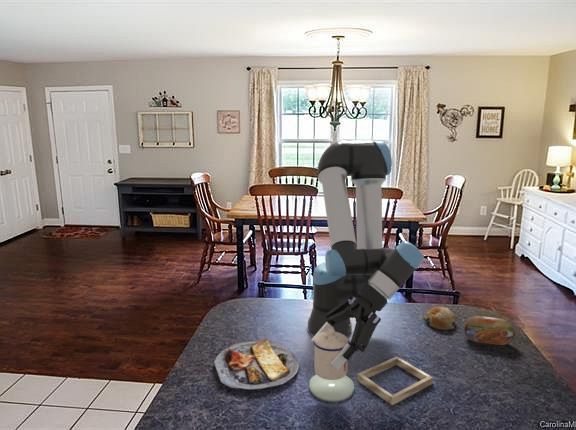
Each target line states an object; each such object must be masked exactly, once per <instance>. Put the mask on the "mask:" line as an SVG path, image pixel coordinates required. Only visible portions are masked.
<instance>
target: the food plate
mask: <svg viewBox="0 0 576 430" xmlns="http://www.w3.org/2000/svg"><path fill="white" fill-rule="evenodd" d="M213 363H214V366H215V369H216V373H217V374H218V377H219V382H221V383H222V384H223V385H225V386H227V387H228V388H232V389H243V390H261V389H267V388H273V387H276V386H279V385H283V384H285V383H288V381H290V380H291V379H292V378H293V377H295V375H296V374H297V372H298V371H299V366H300V364H299V361H298V359H297V358H296V356H295V354H294V353H293V352H292V350H290V348H289V347H287V346H285V345H283V344H280V343H277V342H272V341H271V340H268V338H264V339H262V340H257V339H256V340H249V341H248V340H247V341H241V342H237V343H234V344H231V345H230V346H228V347H226V348H224V349H222V350H221V351H220V352H219V353H218V355H217V356H216V357H215V359H214V361H213ZM235 376H238V379H239V380H241V379H242V378H245V379H248V383H247V382H245V383H243V382H240V381H239V380H238V379H236V378H235ZM263 376H264V377H265V378H266V379H267V380H268V381H269V382H265V383H263V378H264V377H263ZM242 380H243V379H242Z"/></svg>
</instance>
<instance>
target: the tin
mask: <svg viewBox="0 0 576 430" xmlns="http://www.w3.org/2000/svg"><path fill="white" fill-rule="evenodd" d="M463 330H464V331H463V332H464V335H465V336H466V337H467V339H469V340H470V341H472V342H474V343H480V344H489V345H497V346H505V345H509V344H510V343H512V342H513V340H514V339H515V337H516V330H515V328H514V327H513V324H512V323H510V322H509V321H508V320H507V319H504V318H500V317H499V318H498V317H491V316H482V315H473V316H470V317H468V318H467V319H466V320H465V322H464V324H463Z"/></svg>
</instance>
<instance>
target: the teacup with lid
mask: <svg viewBox="0 0 576 430" xmlns="http://www.w3.org/2000/svg"><path fill="white" fill-rule="evenodd" d="M312 342H313V344H314V348H313V349H314V351H313V353H314V355H313V357H314V359H313V360H314V373H315V375H316V374H317V375H318V376H319V377H321V378H323V379H327V380H337V379H341V378H343V377H344V376H345V375H346V376H347V375H348V370H349V369H348V365H349V363H348V360H347V361H346V362H345V363H344V364H343V365H342V367H341V368H340V369H339V370H338V369H337V368H335V367H334V366H333V365H332V364H331V362H332V361H333V359H334V358H335V357H336V356H337V355H338V354H339V352H340V351H341V350H342V349H343V348H344V346H345V345H346V344H347V343H348V342H350V341H349V339H348V337H347V336H345V335H343V334H341V333H338V332H335V330H334V329H328V331H327V332H322V333H319V334H318V335H316V336H315V338H314V341H312Z"/></svg>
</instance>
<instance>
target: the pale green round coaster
mask: <svg viewBox="0 0 576 430" xmlns="http://www.w3.org/2000/svg"><path fill="white" fill-rule="evenodd" d="M354 384H355V383H354V381H353V380H352V379H351V378H350V377H349V376H348V375H347V374H346V375H345V376H344V377H343V378H341V379H337V380H327V379H323V378H321V377H319V376H318V375H317V374H316V373H315V375H313V376H312V377H311V379H310V380H309V390H310V393H311V394H312V395H313V396H314V397H315V398H317V399H319V400H321V401H325V402H330V403H331V402H332V403H336V402H337V403H338V402H344V401H346V400H348V399H349V398H350V397H352V396H353V394H354V392H355V391H354V390H355V385H354Z"/></svg>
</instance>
